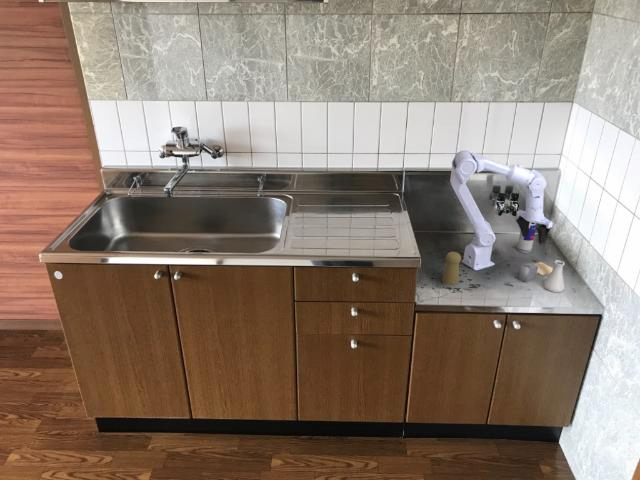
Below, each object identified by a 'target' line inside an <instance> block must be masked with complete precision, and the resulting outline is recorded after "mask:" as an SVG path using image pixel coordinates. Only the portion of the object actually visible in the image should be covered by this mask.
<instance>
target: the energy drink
mask: <svg viewBox="0 0 640 480" xmlns="http://www.w3.org/2000/svg"><path fill="white" fill-rule="evenodd" d="M537 227H538V226H537V223H534V222H530V224H529V233H528V236H525V237H523V236H522V232H521V230H520V232H519V236H518V240H517V247H516V249H517V251H519V252H521V253H523V254H524V253H525V254H527V253H531V252H532V250H533V245H534V240H535V235H536V231H537V229H536V228H537Z"/></svg>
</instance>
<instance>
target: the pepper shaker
mask: <svg viewBox="0 0 640 480" xmlns="http://www.w3.org/2000/svg"><path fill="white" fill-rule="evenodd" d="M445 261H446V263H445V267H444V270H443V274H442V277H441V282H442V283H443V284H445V285H447V286H456V284H457V285H458V284H459V283H460V263H461V262H462V256H461V254H460V253H459V252H456V251H450V252H448V253H446V254H445Z"/></svg>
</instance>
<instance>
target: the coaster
mask: <svg viewBox="0 0 640 480" xmlns="http://www.w3.org/2000/svg"><path fill="white" fill-rule="evenodd" d="M533 264H534V265H536V266H538V270H539V272H538V273H537V274H538V275H540V276H541V277H543V276H546V275H550V273H551V272H552V270H553V268H554V267H551V266H550V265H547V264H546V263H544V262H542V261H539V262H535V263H533Z"/></svg>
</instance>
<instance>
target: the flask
mask: <svg viewBox="0 0 640 480" xmlns="http://www.w3.org/2000/svg"><path fill="white" fill-rule="evenodd" d="M553 263H554V265H553V266H554V267H552V268H553V270H552V272H551V273H550V274H548V276H547V277H546V279H545V280H544V282H543V283H542V287H543V289H545V290H548V291H550V292H553V293H562V292H564V291H565V290H566V288H565V283H564V282H565V281H564V275H563V268H564V266H565V262H564V260H558V259H556V260H554V262H553Z"/></svg>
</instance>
